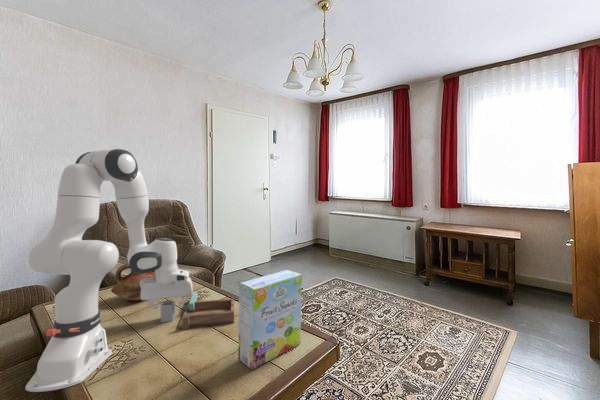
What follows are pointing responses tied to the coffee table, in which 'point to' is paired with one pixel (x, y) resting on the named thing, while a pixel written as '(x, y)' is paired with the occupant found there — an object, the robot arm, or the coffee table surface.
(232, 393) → the coffee table surface
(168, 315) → the jaw block
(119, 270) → the ceramic vessel
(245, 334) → the snack box
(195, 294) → the retainer bar
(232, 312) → the brown wooden tray
